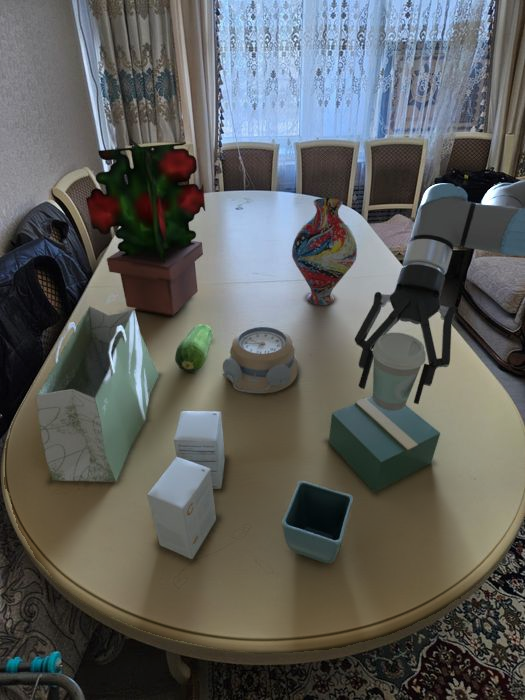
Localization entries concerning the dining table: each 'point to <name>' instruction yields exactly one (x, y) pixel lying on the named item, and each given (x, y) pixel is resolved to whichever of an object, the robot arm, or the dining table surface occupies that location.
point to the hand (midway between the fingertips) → (388, 394)
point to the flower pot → (316, 521)
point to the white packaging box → (202, 441)
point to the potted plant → (151, 224)
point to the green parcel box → (382, 441)
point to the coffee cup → (395, 369)
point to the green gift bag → (95, 397)
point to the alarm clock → (261, 361)
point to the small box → (183, 506)
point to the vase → (324, 250)
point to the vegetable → (194, 348)
